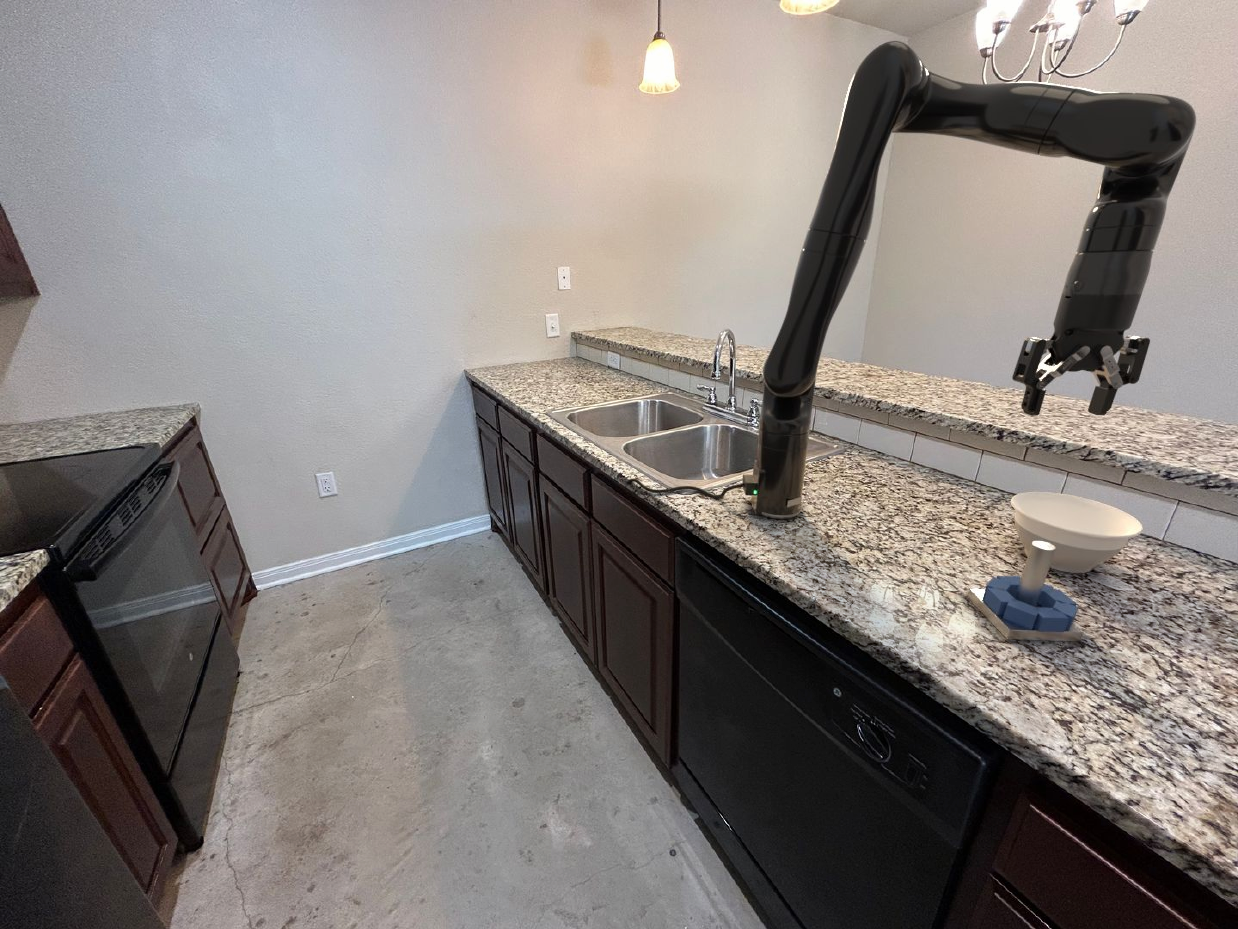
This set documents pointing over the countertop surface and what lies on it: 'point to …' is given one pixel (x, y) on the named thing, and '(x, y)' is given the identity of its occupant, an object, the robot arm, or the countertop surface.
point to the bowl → (1073, 528)
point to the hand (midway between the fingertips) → (1062, 414)
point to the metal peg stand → (1027, 598)
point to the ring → (1047, 619)
